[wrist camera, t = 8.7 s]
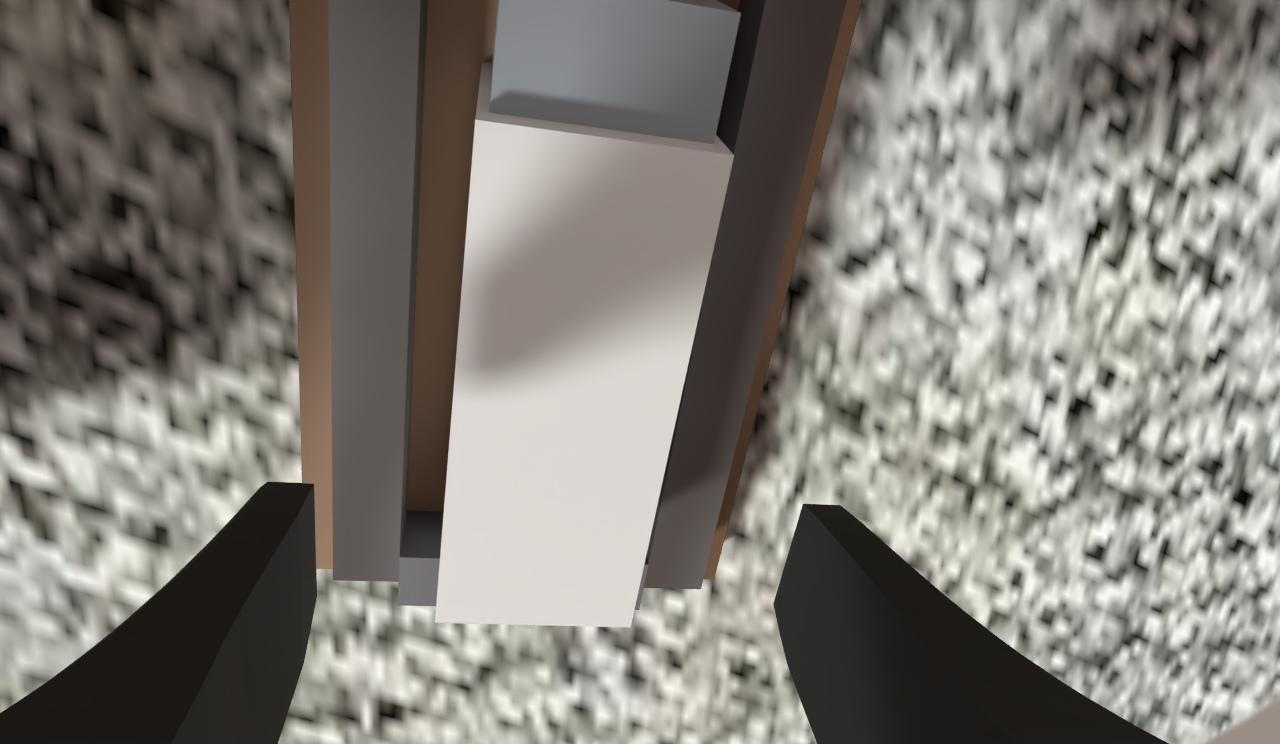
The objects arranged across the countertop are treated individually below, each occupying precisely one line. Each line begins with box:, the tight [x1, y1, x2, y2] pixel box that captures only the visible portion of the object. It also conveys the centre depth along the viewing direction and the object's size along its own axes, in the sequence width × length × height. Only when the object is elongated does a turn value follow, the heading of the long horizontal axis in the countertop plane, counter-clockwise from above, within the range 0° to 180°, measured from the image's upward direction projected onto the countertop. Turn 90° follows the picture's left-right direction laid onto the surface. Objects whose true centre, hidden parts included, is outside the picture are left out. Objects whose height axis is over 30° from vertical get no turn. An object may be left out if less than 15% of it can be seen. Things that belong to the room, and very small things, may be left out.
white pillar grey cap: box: [435, 0, 741, 627], centre depth 17 cm, size 4×12×5 cm, turn 170°
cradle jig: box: [289, 0, 862, 610], centre depth 19 cm, size 11×18×3 cm, turn 171°
